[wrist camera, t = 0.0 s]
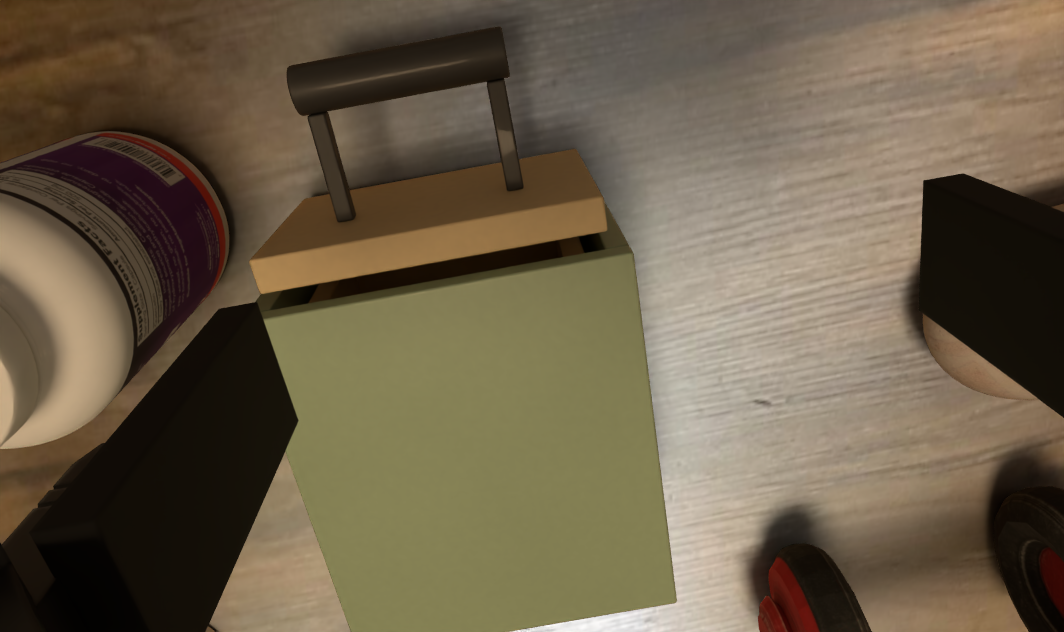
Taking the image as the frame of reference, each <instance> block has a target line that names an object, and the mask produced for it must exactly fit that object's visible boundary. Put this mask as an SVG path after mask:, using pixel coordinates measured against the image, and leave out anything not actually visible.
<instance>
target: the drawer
mask: <svg viewBox="0 0 1064 632" xmlns="http://www.w3.org/2000/svg"><path fill="white" fill-rule="evenodd" d="M508 77H510V72H509V66H508V61H507V55H506V49H505V44H504V38H503V33H502V28H501V27H500V26H498V27H493V28H487V29H482V30H477V31H471V32H466V33H461V34H455V35H450V36H445V37H440V38H434V39H429V40H424V41H418V42H413V43H408V44H402V45H397V46H392V47H386V48H381V49H376V50H370V51H365V52H360V53H355V54H349V55H344V56H339V57H333V58H328V59H323V60H317V61H312V62H307V63H301V64H296V65H291V66H289V67H288V68H287V83H288V88H289V92H290V96H291V99H292V101H293V104H294V106H295V108H296V110H297V111H298V113H299V114H300V115H302V116H305V115H309V116H308V121H309V125H310V128H311V132H312V135H313V139H314V142H315V146H316V149H317V152H318V156H319V159H320V163H321V166H322V170H323V173H324V177H325V180H326V184H327V187H328V191H329V194H327V195H322V196H317V197H311V198H306V199H304V200H303V201H302V202H301V203H300V204H299V205H298V207H297V208H296V209H295V210H294V211H293V212H292V213H291V214H290V216H289V217H288V218H287V219H286V220H285V221H284V222H283V223H282V225H281V226H280V227H279V228H278V229H277V230H276V231H275V232H274V234H273V235H272V236H271V237H270V238H269V239H268V240H267V241H266V243H265V244H264V245H263V246H262V247H261V248H260V249H259V250H258V252H257V253H256V254H255V255H254V256H253V257H252V258H251V259H250V261H249V263H250V266H251V269H252V272H253V275H254V277H255V280H256V283H257V286H258V289H259V292H260V293H261V294H265V293H271V292H276V291H282V290H287V289H292V288H298V287H303V286H309V285H314V284H319V285H318V287H317V289H316V291H315V292H314V294H313V296H312V297H311V299H310V301H309V303H313V302H319V301H324V300H330V299H335V298H341V297H346V296H352V295H357V294H363V293H368V292H374V291H379V290H385V289H391V288H396V287H402V286H407V285H413V284H418V283H424V282H429V281H435V280H440V279H446V278H451V277H457V276H462V275H468V274H473V273H479V272H484V271H490V270H495V269H501V268H506V267H512V266H517V265H523V264H528V263H534V262H539V261H545V260H550V259H556V258H561V257H567V256H572V255H578V254H583V253H584V250H583V247H582V245H581V242H580V239H579V237H578V236H583V235H589V234H594V233H600V232H605V231H607V229H608V228H607V220H606V213H605V206H604V198H603V196H602V194H601V193H600V191H599V189H598V187H597V185H596V184H595V182H594V180H593V178H592V176H591V175H590V173H589V171H588V169H587V167H586V166H585V164H584V162H583V160H582V159H581V157H580V155H579V153H578V151H577V150H576V149H571V150H566V151H560V152H555V153H550V154H544V155H539V156H533V157H528V158H522V159H519V157H518V152H517V146H516V141H515V135H514V129H513V124H512V118H511V113H510V107H509V102H508V96H507V91H506V85H505V80H504V78H508ZM482 82H487V88H488V94H489V99H490V104H491V109H492V115H493V120H494V125H495V130H496V136H497V141H498V146H499V152H500V157H501V163H495V164H490V165H485V166H479V167H474V168H468V169H463V170H457V171H452V172H447V173H441V174H436V175H430V176H425V177H420V178H414V179H409V180H403V181H398V182H392V183H387V184H382V185H376V186H371V187H365V188H360V189H354V190H349V186H348V183H347V179H346V176H345V172H344V168H343V165H342V161H341V158H340V154H339V150H338V147H337V143H336V139H335V136H334V132H333V129H332V125H331V121H330V118H329V114H328V112H327V111H332V110H338V109H343V108H348V107H354V106H359V105H364V104H370V103H375V102H380V101H386V100H391V99H396V98H402V97H407V96H413V95H418V94H423V93H429V92H434V91H439V90H445V89H450V88H455V87H461V86H466V85H471V84H477V83H482Z"/></svg>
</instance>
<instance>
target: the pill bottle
mask: <svg viewBox="0 0 1064 632" xmlns="http://www.w3.org/2000/svg"><path fill="white" fill-rule="evenodd" d="M228 253H229V230H228V224H227V219H226V216H225V213H224V210H223V207H222V205H221V203H220V201H219V199H218V197H217V195H216V193H215V192H214V190H213V188H212V187H211V185H210V184H209V182H208V181H207V180H206V178H205V177H204V176H203V175H202V173H201V172H200V171H199V170H198V169H197V168H196V167H195V166H194V165H193V164H192V163H190V162H189V161H188V160H187V159H186V158H185V157H183V156H182V155H180V154H179V153H177V152H176V151H175V150H173V149H171V148H169V147H168V146H166V145H163V144H161V143H159V142H157V141H155V140H152V139H149V138H147V137H143V136H140V135H136V134H131V133H125V132H114V131H102V132H93V133H87V134H83V135H79V136H75V137H72V138H68V139H65V140H62V141H59V142H57V143H54V144H52V145H49V146H46V147H44V148H41V149H38V150H35V151H32V152H30V153H27V154H24V155H21V156H18V157H16V158H13V159H10V160H7V161H4V162H1V163H0V449H9V448H21V447H29V446H34V445H39V444H43V443H46V442H50V441H53V440H56V439H58V438H61V437H63V436H66V435H68V434H70V433H72V432H74V431H76V430H77V429H79V428H81V427H82V426H84V425H85V424H87V423H88V422H90V421H91V420H92V419H94V418H95V417H96V416H97V415H98V414H99V413H100V412H101V411H102V410H103V409H104V408H106V406H107V405H108V404H109V403H110V402H111V401H112V400H113V399H114V398H115V397H116V396H117V395H118V394H119V393H120V392H121V390H122V389H123V388H124V387H125V386H126V385H127V384H128V383H129V382H130V380H131V379H132V378H133V377H134V376H135V375H136V374H137V373H138V372H139V371H140V369H141V368H142V367H143V366H144V365H145V364H146V363H147V362H148V361H149V360H150V359H151V357H152V356H153V355H154V354H155V353H156V352H157V351H158V350H159V349H160V348H161V347H162V346H163V345H164V344H165V343H166V341H167V340H168V339H169V338H170V337H171V336H172V335H173V334H174V333H175V331H176V330H177V329H178V328H179V327H180V326H181V325H182V324H183V323H184V321H185V320H186V319H187V318H188V317H189V316H190V315H191V314H192V313H193V312H194V310H195V309H196V308H197V307H198V306H199V305H200V304H201V303H202V302H203V301H204V300H205V299H206V297H207V296H208V295H209V294H210V292H211V291H212V290H213V289H214V287H215V286H216V284H217V283H218V281H219V279H220V277H221V276H222V274H223V271H224V268H225V265H226V262H227V258H228Z"/></svg>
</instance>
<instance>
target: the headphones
mask: <svg viewBox="0 0 1064 632" xmlns="http://www.w3.org/2000/svg"><path fill="white" fill-rule="evenodd" d="M993 534H994V543H995V552H996V556H997V560H998V564H999V568H1000V572H1001V575H1002V577H1003V580H1004V583H1005V585H1006V588H1007V590H1008V593H1009V596H1010V598H1011V600H1012V602H1013V604H1014V606H1015V608H1016V610H1017V612H1018V614H1019V616H1020V618H1021V620H1022V621H1023V623H1024V624H1025V626H1026V628H1027V629H1028V631H1029V632H1064V490H1062V489H1060V488H1056V487H1053V486H1048V487H1029V488H1024V489H1022V490H1020V491H1018V492H1015V493H1014V494H1012V495H1010V496H1009V497H1007V498H1006V499H1005V500H1004V502H1003V504H1002V505H1001V507H1000V509H999V511H998V513H997V515H996V517H995V523H994V533H993ZM769 587H770V594H771V598H772V599H771V598H770V597H769V596H768V595H767V596H766V597H765V598H764V600H763V601H762V602H761V603H760V607H759V616H758V623H759V630H760V632H872V631H871V629H870V627H869V625H868V622H867V620H866V618H865V616H864V614H863V612H862V609H861V607H860V605H859V603H858V601H857V599H856V596H855V594H854V592H853V591H852V589H851V587H850V586H849V584H848V583H847V581H846V579H845V578H844V576H843V574H842V573H841V571H840V570H839V568H838V567H837V566H836V564H835V563H834V561H833V560H832V558H831V557H830V556H829V555H828V554H827V553H826V552H825V551H824V550H822V549H820V548H817V547H815V546H813V545H810V544H807V543H801V544H792V545H790V546H787V547H785V548H782V549H781V550H780V552H779V553H778V554H777V556H776V558H775V562H774V563H773V565H772V567H771V568H770V570H769Z"/></svg>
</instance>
